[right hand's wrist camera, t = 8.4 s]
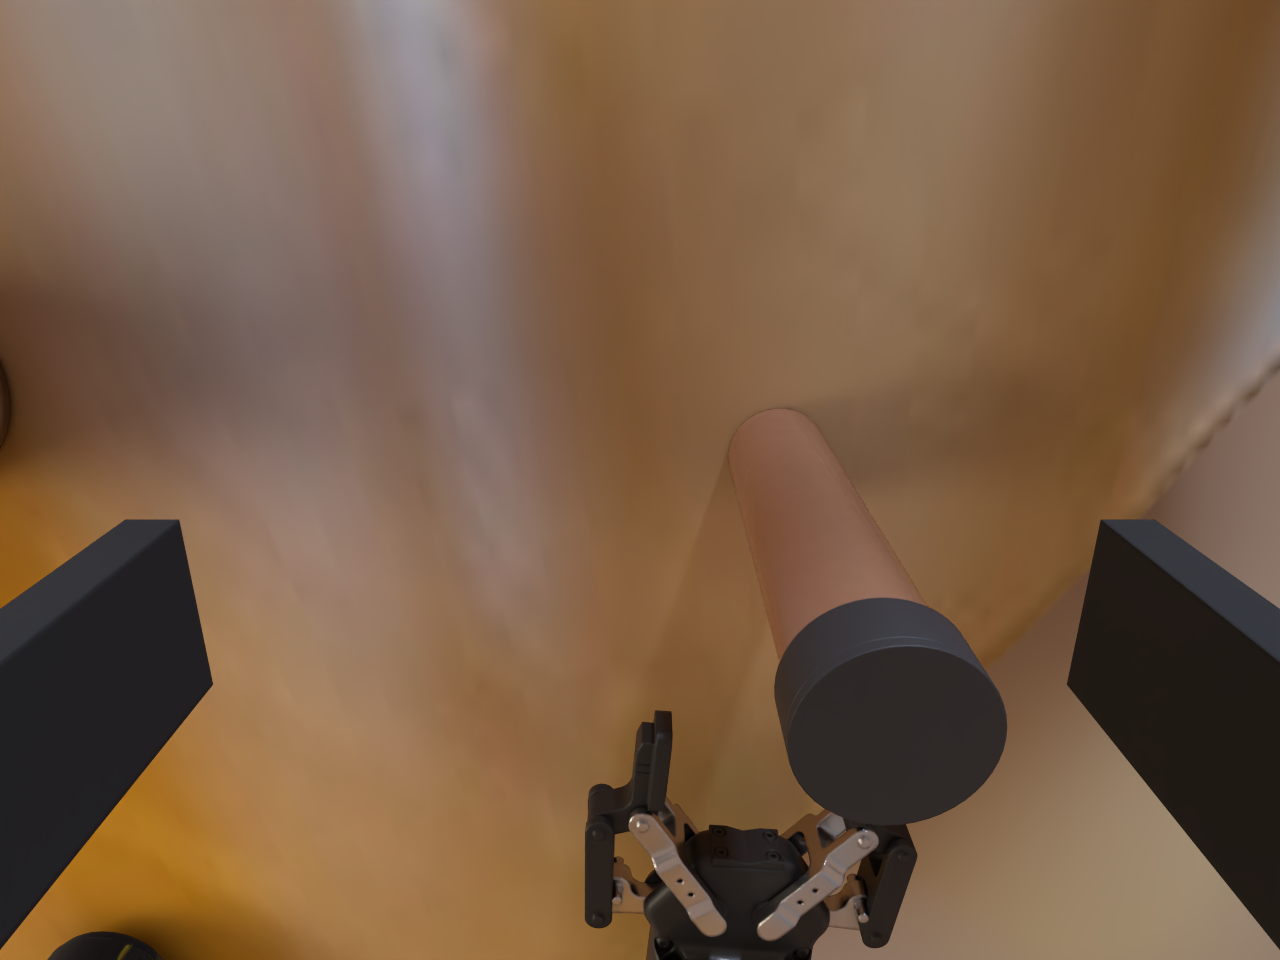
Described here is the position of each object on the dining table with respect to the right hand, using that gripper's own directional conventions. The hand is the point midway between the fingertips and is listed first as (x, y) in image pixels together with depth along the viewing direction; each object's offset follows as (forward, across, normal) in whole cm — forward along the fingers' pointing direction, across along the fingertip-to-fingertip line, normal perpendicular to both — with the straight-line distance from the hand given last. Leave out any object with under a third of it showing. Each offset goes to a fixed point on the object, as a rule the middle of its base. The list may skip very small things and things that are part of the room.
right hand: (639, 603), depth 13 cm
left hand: (+19, -5, +16) cm, 26 cm away
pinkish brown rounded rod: (+25, -6, +6) cm, 27 cm away
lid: (+6, -6, +7) cm, 11 cm away
